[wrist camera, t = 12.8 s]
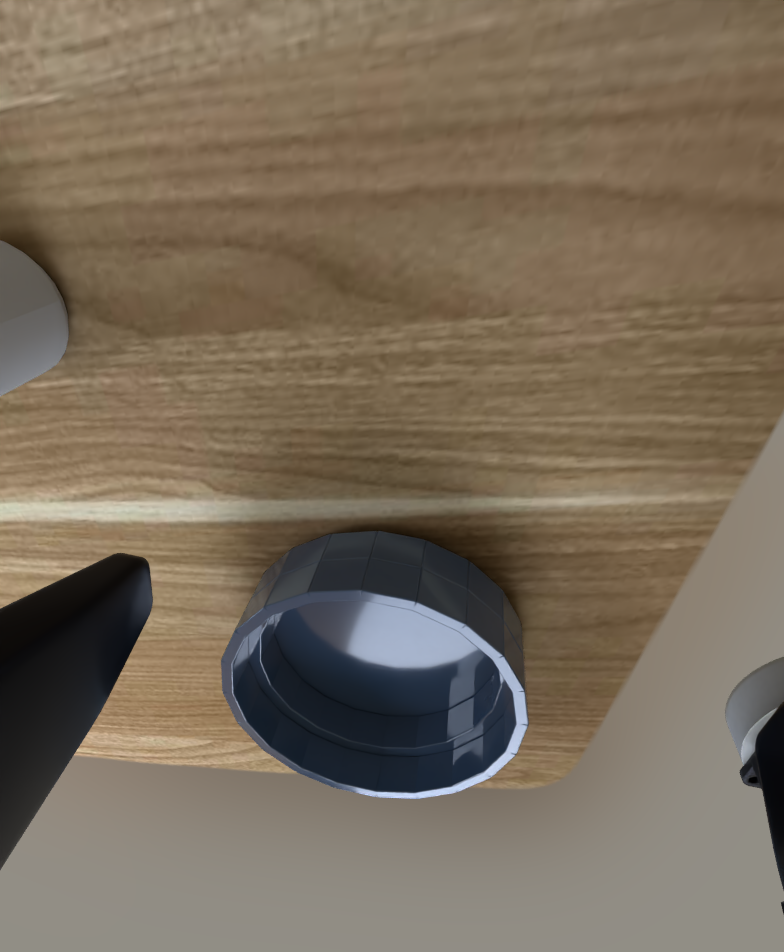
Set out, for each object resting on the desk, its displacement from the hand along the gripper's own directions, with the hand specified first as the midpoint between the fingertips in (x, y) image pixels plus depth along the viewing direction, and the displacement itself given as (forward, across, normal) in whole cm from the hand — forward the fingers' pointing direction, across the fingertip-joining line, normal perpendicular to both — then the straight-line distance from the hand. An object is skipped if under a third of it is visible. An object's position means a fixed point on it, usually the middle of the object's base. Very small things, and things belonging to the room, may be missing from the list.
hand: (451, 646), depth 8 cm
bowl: (+13, +1, +14) cm, 19 cm away
